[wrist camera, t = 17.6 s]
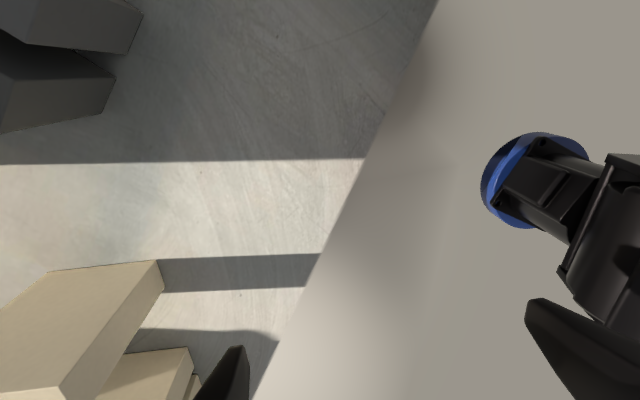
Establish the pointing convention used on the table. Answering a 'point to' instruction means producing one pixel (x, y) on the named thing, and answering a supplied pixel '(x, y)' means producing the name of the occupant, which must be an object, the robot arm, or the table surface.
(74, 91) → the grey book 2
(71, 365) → the small cream white box
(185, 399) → the beige flat block
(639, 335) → the robot arm
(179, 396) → the beige upright block
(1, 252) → the table surface
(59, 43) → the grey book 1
